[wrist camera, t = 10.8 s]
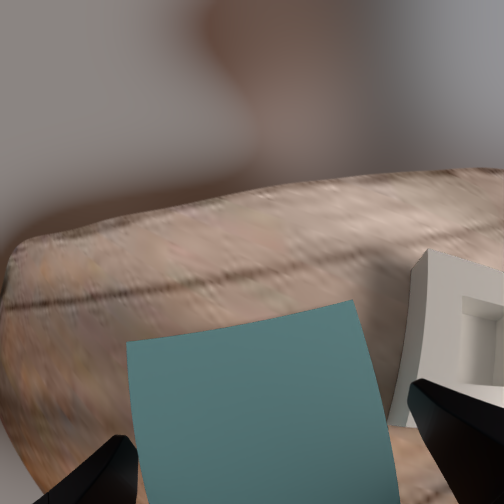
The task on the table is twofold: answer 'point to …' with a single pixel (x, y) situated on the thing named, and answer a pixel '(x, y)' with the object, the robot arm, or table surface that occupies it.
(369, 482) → the peg
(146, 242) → the table surface
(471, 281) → the pocket block
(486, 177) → the table surface
